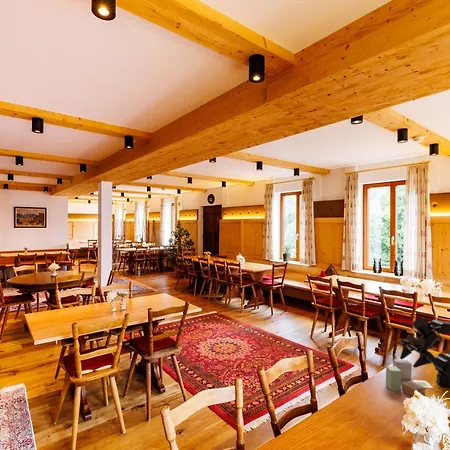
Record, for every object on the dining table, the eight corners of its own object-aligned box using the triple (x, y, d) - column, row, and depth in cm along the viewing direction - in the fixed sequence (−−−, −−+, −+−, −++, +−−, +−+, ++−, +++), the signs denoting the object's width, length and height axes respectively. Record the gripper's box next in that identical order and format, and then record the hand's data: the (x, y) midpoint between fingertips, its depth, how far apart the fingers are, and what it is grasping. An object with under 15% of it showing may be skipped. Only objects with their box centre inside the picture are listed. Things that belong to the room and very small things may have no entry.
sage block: (395, 385, 161) (395, 366, 161) (400, 390, 156) (401, 370, 156) (385, 385, 161) (386, 366, 161) (390, 390, 156) (391, 370, 156)
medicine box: (407, 375, 172) (407, 359, 172) (411, 379, 168) (411, 363, 168) (392, 374, 173) (392, 359, 173) (396, 378, 169) (396, 362, 169)
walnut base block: (411, 388, 159) (411, 380, 159) (424, 395, 153) (424, 387, 153) (401, 390, 157) (401, 382, 157) (414, 398, 150) (414, 389, 150)
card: (425, 381, 166) (425, 380, 166) (433, 388, 159) (433, 387, 159) (411, 380, 167) (411, 379, 167) (418, 387, 160) (418, 386, 160)
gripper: (404, 324, 169) (385, 345, 168) (431, 336, 151) (410, 360, 149) (416, 338, 171) (398, 359, 169) (445, 352, 152) (424, 375, 151)
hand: (407, 362), depth 159 cm, fingers open, 9 cm apart
